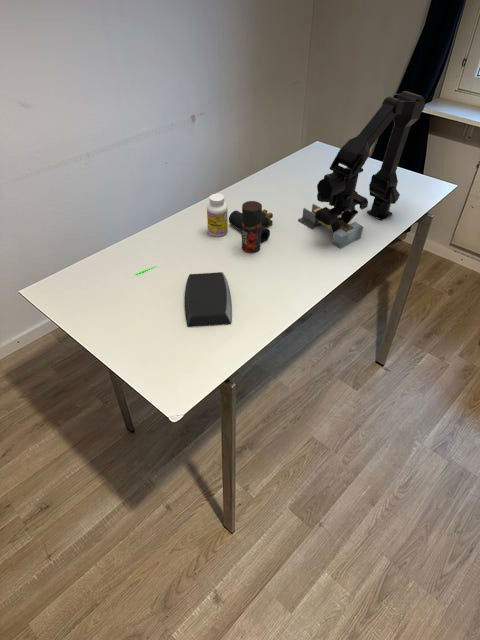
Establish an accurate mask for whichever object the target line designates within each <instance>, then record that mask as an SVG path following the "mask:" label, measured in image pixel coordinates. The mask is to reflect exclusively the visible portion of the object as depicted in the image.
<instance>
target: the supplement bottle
mask: <svg viewBox="0 0 480 640" xmlns="http://www.w3.org/2000/svg"><path fill="white" fill-rule="evenodd" d="M206 219H207V223H206V224H207V233H208V234H209V235H210V236H212V237H218V238H219V237H223V236H225V235H226V234H227V233H228V225H229V224H228V222H229V216H228V205H227V203H226V202H225V196H224V195H223V194H221V193H213V194H211V195H209V202H208V204H207V205H206Z"/></svg>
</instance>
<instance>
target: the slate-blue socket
mask: <svg viewBox="0 0 480 640" xmlns="http://www.w3.org/2000/svg"><path fill="white" fill-rule="evenodd" d="M348 224H349V223H348ZM349 225H351V226H353V229H351V230H349V231H347V232H345V231H344V230H342V229H339V230H337V231H335V232H334V233H333V236H332V242H331V244H332V246H334V247H336V248H338V249H340V250H341V249H342V248H345V247H346V246H349V245H351V244H352V243H355V241H358V240H360V239H361V238H362V233H363V229H364V225H361V224H360V223H358V222H357V221H353V222H352V223H350V224H349Z"/></svg>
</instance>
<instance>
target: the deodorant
mask: <svg viewBox="0 0 480 640" xmlns="http://www.w3.org/2000/svg"><path fill="white" fill-rule="evenodd" d="M262 210H263V205H262V203H260V201H256V200H248V201H245V202H243V203H242V204H241V213H242V231H241V249H242V251H243V252H245V253H247V254H256V253H258V252H259V251H261V243H260V241H261V217H262Z"/></svg>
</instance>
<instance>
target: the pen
mask: <svg viewBox="0 0 480 640" xmlns="http://www.w3.org/2000/svg"><path fill="white" fill-rule="evenodd" d="M157 267H158V265H156V266H153V267H150V268H147V269H144V270H142V271H139V272H137V273H135V274H134V275H137V276H139V275H138V274H140V275H141V273H142V274H145V273H147V272H149V271H151V270H154V269H155V268H157ZM150 269H151V270H150ZM148 270H149V271H148ZM146 271H147V272H146ZM144 272H145V273H144Z"/></svg>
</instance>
